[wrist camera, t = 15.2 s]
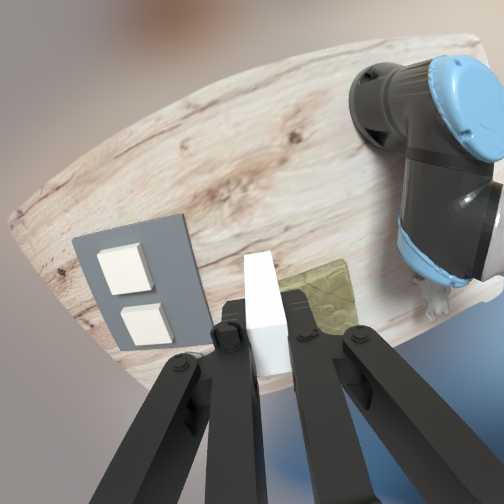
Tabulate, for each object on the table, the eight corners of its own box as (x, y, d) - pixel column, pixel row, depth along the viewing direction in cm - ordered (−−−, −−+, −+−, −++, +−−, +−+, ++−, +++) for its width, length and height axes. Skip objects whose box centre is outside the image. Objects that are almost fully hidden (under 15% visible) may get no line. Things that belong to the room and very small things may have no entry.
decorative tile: (343, 256, 50) (349, 265, 47) (357, 335, 58) (362, 346, 55) (243, 288, 52) (244, 299, 49) (275, 361, 60) (276, 373, 56)
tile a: (136, 247, 44) (96, 254, 44) (151, 289, 47) (112, 295, 47) (140, 241, 46) (101, 249, 46) (154, 283, 49) (116, 289, 49)
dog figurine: (404, 297, 54) (427, 328, 44) (425, 241, 49) (455, 266, 39) (422, 298, 54) (446, 327, 45) (443, 245, 49) (473, 268, 40)
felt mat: (183, 213, 45) (181, 215, 44) (217, 338, 56) (217, 342, 55) (74, 237, 46) (71, 240, 45) (121, 346, 56) (120, 350, 55)
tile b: (158, 309, 48) (120, 313, 49) (172, 342, 52) (135, 345, 52) (161, 302, 50) (123, 306, 51) (174, 335, 54) (138, 338, 54)
